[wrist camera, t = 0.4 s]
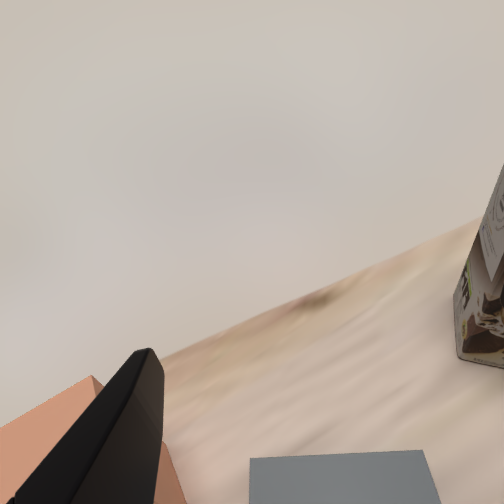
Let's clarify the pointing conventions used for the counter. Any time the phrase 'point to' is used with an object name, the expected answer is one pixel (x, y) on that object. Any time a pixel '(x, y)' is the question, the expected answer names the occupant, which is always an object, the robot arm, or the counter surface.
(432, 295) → the counter surface
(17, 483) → the terracotta block
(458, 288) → the coffee box
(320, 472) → the slate board
